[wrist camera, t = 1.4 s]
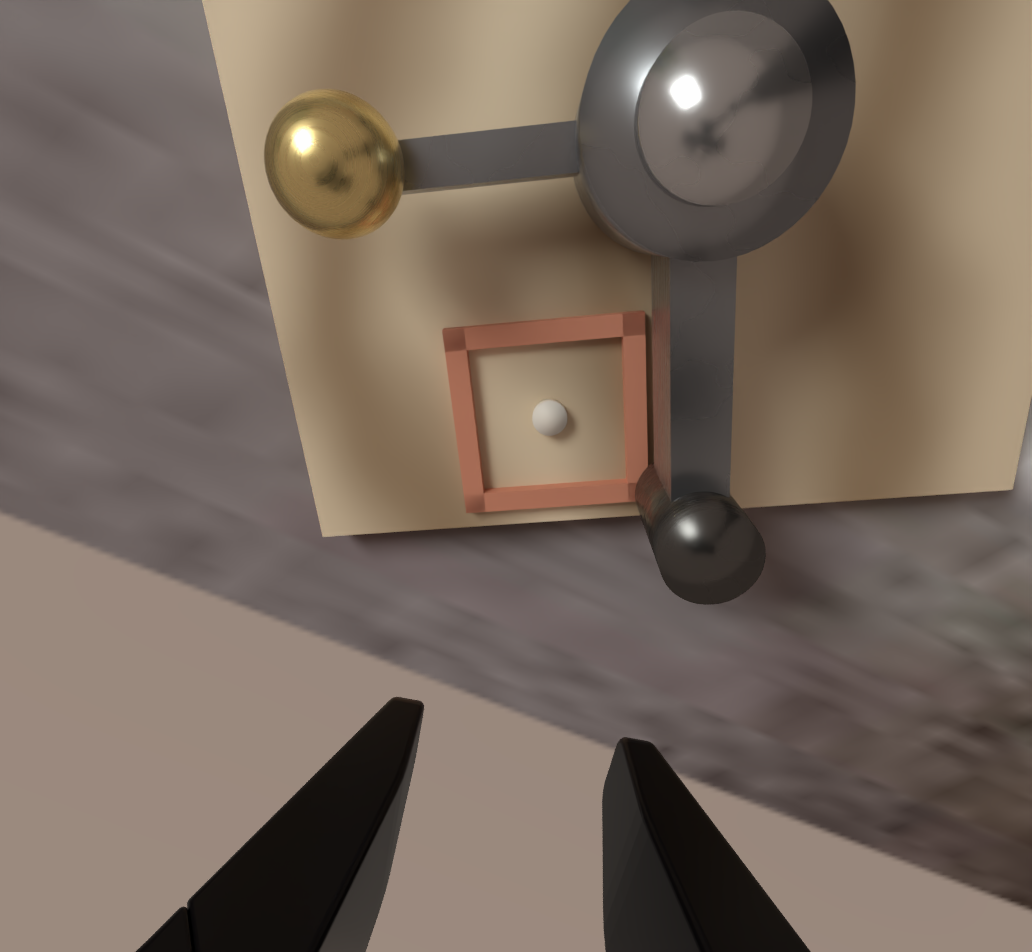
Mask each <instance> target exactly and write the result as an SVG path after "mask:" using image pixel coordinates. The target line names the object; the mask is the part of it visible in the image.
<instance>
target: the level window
mask: <svg viewBox="0 0 1032 952" xmlns="http://www.w3.org/2000/svg"><path fill="white" fill-rule="evenodd" d="M442 334H443V342H444V349H445V357H446V364H447V372H448V379H449V387H450V394H451V402H452V410H453V417H454V425H455V432H456V440H457V447H458V455H459V462H460V470H461V478H462V485H463V493H464V500H465V508H466V513H477V512H492V511H506V510H520V509H534V508H549V507H563V506H577V505H592V504H606V503H620V502H635V489H636V485H637V482H638V480H639V478H640V476H641V474H642V473H643V471H644V470H645V469H646V468H647V467H648V445H647V392H646V339H645V311H643V310H640V311H629V312H617V313H606V314H595V315H584V316H573V317H562V318H551V319H540V320H529V321H518V322H507V323H496V324H485V325H474V326H462V327H451V328H444V329H443V330H442ZM612 337H621V340H622V370H623V401H624V432H625V463H626V479H612V480H598V481H584V482H570V483H557V484H543V485H529V486H515V487H501V488H488V489H485V487H484V479H483V470H482V462H481V453H480V445H479V437H478V428H477V420H476V411H475V403H474V395H473V386H472V378H471V369H470V361H469V353H468V350H475V349H486V348H498V347H509V346H520V345H532V344H543V343H555V342H566V341H577V340H589V339H600V338H612ZM532 421H533V425H534V427H535V429H536V430H537V431H538V432H539V433H541V434H543V435H546V436H553V435H556V434H558V433H560V432H561V431H562V430H563V429H564V428H565V426H566V424H567V412H566V409H565V407H564V405H563V404H562V403H561V402H559V401H558V400H555V399H544V400H542V401H540V402H539V403H538V404H537V405H536V406H535V408H534V410H533V415H532Z"/></svg>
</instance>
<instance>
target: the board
mask: <svg viewBox="0 0 1032 952" xmlns="http://www.w3.org/2000/svg"><path fill="white" fill-rule="evenodd" d="M629 1H630V0H202V2H203V6H204V10H205V15H206V19H207V24H208V28H209V33H210V37H211V42H212V46H213V51H214V55H215V59H216V64H217V68H218V73H219V77H220V82H221V86H222V91H223V95H224V99H225V104H226V108H227V113H228V117H229V122H230V126H231V131H232V135H233V139H234V144H235V148H236V153H237V157H238V162H239V166H240V171H241V175H242V180H243V184H244V188H245V193H246V197H247V202H248V206H249V211H250V215H251V220H252V224H253V228H254V233H255V237H256V242H257V246H258V251H259V255H260V260H261V264H262V268H263V273H264V277H265V282H266V286H267V291H268V295H269V300H270V304H271V309H272V313H273V317H274V322H275V326H276V331H277V335H278V340H279V344H280V349H281V353H282V357H283V362H284V366H285V371H286V375H287V380H288V384H289V389H290V393H291V397H292V402H293V406H294V411H295V415H296V420H297V424H298V429H299V433H300V438H301V442H302V446H303V451H304V455H305V460H306V464H307V469H308V473H309V478H310V482H311V486H312V491H313V495H314V500H315V504H316V509H317V513H318V518H319V522H320V526H321V531H322V535H323V537H329V536H344V535H358V534H373V533H387V532H402V531H417V530H431V529H446V528H461V527H475V526H490V525H504V524H519V523H534V522H548V521H563V520H578V519H592V518H607V517H621V516H636V515H640V514H639V511H638V508H637V505H636V501H635V502H620V503H606V504H592V505H577V506H563V507H549V508H534V509H520V510H506V511H492V512H477V513H466V508H465V500H464V493H463V485H462V478H461V470H460V462H459V455H458V447H457V440H456V432H455V425H454V417H453V410H452V402H451V394H450V387H449V379H448V372H447V364H446V357H445V349H444V342H443V334H442V330H443V329H444V328H451V327H462V326H474V325H485V324H496V323H507V322H518V321H529V320H540V319H551V318H562V317H573V316H584V315H595V314H606V313H617V312H629V311H640V310H643V311H645V339H646V392H647V445H648V466H649V465H650V464H652V463H653V462H654V423H653V357H652V291H651V255H647V254H643V253H639V252H635V251H633V250H631V249H628V248H626V247H624V246H622V245H620V244H619V243H617V242H615V241H614V240H612V239H611V238H610V237H609V236H607V235H606V234H605V233H604V232H603V231H602V230H601V229H600V228H599V227H598V226H597V225H596V224H595V223H594V222H593V220H592V219H591V217H590V216H589V214H588V213H587V212H586V210H585V208H584V206H583V204H582V202H581V200H580V198H579V195H578V192H577V190H576V187H575V183H574V178H573V177H567V178H558V179H549V180H539V181H530V182H520V183H511V184H501V185H492V186H482V187H473V188H463V189H454V190H444V191H435V192H425V193H416V194H406V195H401V199H400V201H399V203H398V206H397V207H396V209H395V211H394V212H393V214H392V215H391V217H390V218H389V219H388V220H387V221H386V222H385V223H384V224H383V225H382V226H381V227H380V228H378V229H377V230H375V231H374V232H372V233H370V234H368V235H365V236H362V237H359V238H355V239H348V240H339V239H331V238H327V237H323V236H320V235H317V234H315V233H312V232H311V231H309V230H307V229H305V228H304V227H302V226H301V225H300V224H298V223H297V222H296V221H294V220H293V219H292V218H291V217H290V216H289V215H288V214H287V213H286V211H285V210H284V209H283V208H282V207H281V205H280V204H279V202H278V201H277V199H276V197H275V195H274V193H273V191H272V189H271V187H270V184H269V182H268V178H267V175H266V171H265V164H264V146H265V140H266V135H267V132H268V129H269V126H270V124H271V122H272V120H273V118H274V117H275V115H276V114H277V112H278V111H279V110H280V109H281V108H282V107H283V106H284V105H285V104H286V103H287V102H288V101H290V100H291V99H292V98H294V97H296V96H298V95H299V94H301V93H304V92H307V91H310V90H315V89H336V90H341V91H345V92H348V93H351V94H353V95H355V96H357V97H359V98H361V99H363V100H365V101H366V102H368V103H369V104H370V105H372V106H373V107H374V108H375V109H376V110H377V111H378V112H379V113H380V114H381V115H382V116H383V117H384V118H385V120H386V121H387V122H388V124H389V125H390V126H391V128H392V130H393V131H394V133H395V135H396V137H397V139H398V140H403V139H412V138H421V137H430V136H439V135H448V134H457V133H466V132H475V131H484V130H493V129H502V128H511V127H520V126H529V125H538V124H547V123H556V122H565V121H574V120H575V117H576V113H577V109H578V106H579V102H580V99H581V95H582V92H583V88H584V85H585V81H586V78H587V74H588V71H589V69H590V66H591V63H592V61H593V58H594V55H595V53H596V51H597V49H598V47H599V45H600V43H601V41H602V39H603V37H604V35H605V33H606V32H607V30H608V28H609V27H610V25H611V24H612V22H613V21H614V19H615V18H616V16H617V15H618V14H619V13H620V12H621V10H622V9H623V8H624V7H625V6H626V4H627V3H628V2H629ZM828 1H829V2H830V3H831V5H832V6H833V8H834V9H835V11H836V13H837V15H838V17H839V19H840V20H841V22H842V24H843V27H844V30H845V32H846V35H847V38H848V40H849V43H850V48H851V52H852V57H853V61H854V69H855V80H856V93H855V108H854V115H853V122H852V127H851V131H850V134H849V138H848V142H847V145H846V148H845V150H844V153H843V156H842V158H841V161H840V163H839V165H838V167H837V169H836V171H835V173H834V175H833V177H832V179H831V181H830V182H829V184H828V185H827V187H826V188H825V190H824V191H823V193H822V194H821V196H820V197H819V199H818V200H817V201H816V202H815V203H814V205H813V206H812V207H811V208H810V209H809V211H808V212H807V213H806V214H805V215H804V216H803V217H802V218H801V219H800V220H799V221H798V222H797V223H795V224H794V225H793V226H792V227H791V228H790V229H788V230H787V231H786V232H784V233H783V234H782V235H780V236H779V237H778V238H776V239H774V240H773V241H771V242H769V243H768V244H766V245H764V246H762V247H760V248H758V249H756V250H753V251H751V252H749V253H747V254H743V255H740V256H737V277H736V309H735V341H734V373H733V406H732V438H731V470H730V494H731V495H732V497H733V498H734V499H735V501H736V502H737V503H738V505H739V506H740V507H741V508H753V507H768V506H782V505H797V504H812V503H826V502H841V501H855V500H870V499H885V498H899V497H914V496H928V495H943V494H958V493H972V492H987V491H1002V490H1013V485H1014V480H1015V476H1016V471H1017V466H1018V461H1019V456H1020V451H1021V446H1022V441H1023V436H1024V431H1025V427H1026V422H1027V417H1028V412H1029V407H1030V402H1031V397H1032V0H828ZM468 353H469V361H470V369H471V378H472V386H473V395H474V403H475V411H476V420H477V428H478V437H479V445H480V453H481V462H482V470H483V479H484V487H485V489H488V488H501V487H515V486H529V485H543V484H557V483H570V482H584V481H598V480H612V479H626V463H625V432H624V401H623V370H622V340H621V337H612V338H600V339H589V340H577V341H566V342H555V343H543V344H532V345H520V346H509V347H498V348H486V349H475V350H468ZM544 399H555V400H558V401H559V402H561V403H562V404H563V405H564V407H565V409H566V412H567V424H566V426H565V428H564V429H563V430H562V431H561V432H560V433H558V434H556V435H553V436H546V435H543V434H541V433H539V432H538V431H537V430H536V429H535V427H534V425H533V421H532V415H533V410H534V408H535V406H536V405H537V404H538V403H539V402H540V401H542V400H544Z"/></svg>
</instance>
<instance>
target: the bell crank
mask: <svg viewBox="0 0 1032 952" xmlns="http://www.w3.org/2000/svg"><path fill="white" fill-rule="evenodd" d="M855 93H856V80H855V69H854V61H853V57H852V52H851V48H850V43H849V40H848V38H847V35H846V32H845V30H844V27H843V24H842V22H841V20H840V19H839V17H838V15H837V13H836V11H835V9H834V8H833V6H832V5H831V3H830V2H829V1H828V0H630V1H629V2H628V3H627V4H626V6H625V7H624V8H623V9H622V10H621V12H620V13H619V14H618V15H617V16H616V18H615V19H614V21H613V22H612V24H611V25H610V27H609V28H608V30H607V32H606V33H605V35H604V37H603V39H602V41H601V43H600V45H599V47H598V49H597V51H596V53H595V55H594V58H593V61H592V63H591V66H590V69H589V71H588V74H587V78H586V81H585V85H584V88H583V92H582V95H581V99H580V102H579V106H578V109H577V113H576V117H575V120H574V121H565V122H556V123H547V124H538V125H529V126H520V127H511V128H502V129H493V130H484V131H475V132H466V133H457V134H448V135H439V136H430V137H421V138H412V139H403V140H398V139H397V137H396V135H395V133H394V131H393V130H392V128H391V126H390V125H389V124H388V122H387V121H386V120H385V118H384V117H383V116H382V115H381V114H380V113H379V112H378V111H377V110H376V109H375V108H374V107H373V106H372V105H370V104H369V103H368V102H366V101H365V100H363V99H361V98H359V97H357V96H355V95H353V94H351V93H348V92H345V91H341V90H336V89H315V90H310V91H307V92H304V93H301V94H299V95H298V96H296V97H294V98H292V99H291V100H290V101H288V102H287V103H286V104H285V105H284V106H283V107H282V108H281V109H280V110H279V111H278V112H277V114H276V115H275V117H274V118H273V120H272V122H271V124H270V126H269V129H268V132H267V135H266V140H265V146H264V164H265V171H266V175H267V178H268V182H269V184H270V187H271V189H272V191H273V193H274V195H275V197H276V199H277V201H278V202H279V204H280V205H281V207H282V208H283V209H284V210H285V211H286V213H287V214H288V215H289V216H290V217H291V218H292V219H293V220H294V221H296V222H297V223H298V224H300V225H301V226H302V227H304V228H305V229H307V230H309V231H311V232H312V233H315V234H317V235H320V236H323V237H327V238H331V239H339V240H348V239H355V238H359V237H362V236H365V235H368V234H370V233H372V232H374V231H375V230H377V229H378V228H380V227H381V226H382V225H383V224H384V223H385V222H386V221H387V220H388V219H389V218H390V217H391V215H392V214H393V212H394V211H395V209H396V207H397V206H398V203H399V201H400V199H401V195H406V194H416V193H425V192H435V191H444V190H454V189H463V188H473V187H482V186H492V185H501V184H511V183H520V182H530V181H539V180H549V179H558V178H567V177H573V178H574V183H575V187H576V190H577V192H578V195H579V198H580V200H581V202H582V204H583V206H584V208H585V210H586V212H587V213H588V214H589V216H590V217H591V219H592V220H593V222H594V223H595V224H596V225H597V226H598V227H599V228H600V229H601V230H602V231H603V232H604V233H605V234H606V235H607V236H609V237H610V238H611V239H612V240H614V241H615V242H617V243H619V244H620V245H622V246H624V247H626V248H628V249H631V250H633V251H635V252H639V253H643V254H647V255H651V291H652V357H653V423H654V462H653V463H652V464H650V465H649V466H648V467H647V468H646V469H645V470H644V471H643V473H642V474H641V476H640V478H639V480H638V482H637V485H636V489H635V501H636V505H637V508H638V511H639V514H640V516H641V519H642V522H643V525H644V528H645V530H646V533H647V536H648V539H649V542H650V544H651V547H652V550H653V553H654V555H655V558H656V561H657V564H658V567H659V569H660V572H661V575H662V577H663V580H664V582H665V583H666V585H667V586H668V587H669V589H670V590H671V591H672V592H674V593H675V594H676V595H677V596H679V597H680V598H682V599H684V600H687V601H689V602H693V603H697V604H719V603H723V602H727V601H730V600H732V599H734V598H736V597H738V596H740V595H741V594H743V593H744V592H746V591H747V590H748V589H749V588H750V587H751V586H752V585H753V584H754V583H755V582H756V580H757V579H758V577H759V576H760V574H761V572H762V570H763V567H764V563H765V557H766V553H765V545H764V542H763V539H762V537H761V535H760V533H759V532H758V530H757V529H756V528H755V526H754V525H753V524H752V522H751V521H750V520H749V518H748V517H747V515H746V514H745V513H744V511H743V510H742V509H741V507H740V506H739V505H738V503H737V502H736V501H735V499H734V498H733V497H732V495H731V494H730V470H731V438H732V406H733V373H734V341H735V309H736V277H737V256H740V255H743V254H747V253H749V252H751V251H753V250H756V249H758V248H760V247H762V246H764V245H766V244H768V243H769V242H771V241H773V240H774V239H776V238H778V237H779V236H780V235H782V234H783V233H784V232H786V231H787V230H788V229H790V228H791V227H792V226H793V225H794V224H795V223H797V222H798V221H799V220H800V219H801V218H802V217H803V216H804V215H805V214H806V213H807V212H808V211H809V209H810V208H811V207H812V206H813V205H814V203H815V202H816V201H817V200H818V199H819V197H820V196H821V194H822V193H823V191H824V190H825V188H826V187H827V185H828V184H829V182H830V181H831V179H832V177H833V175H834V173H835V171H836V169H837V167H838V165H839V163H840V161H841V158H842V156H843V153H844V150H845V148H846V145H847V142H848V138H849V134H850V131H851V127H852V122H853V115H854V108H855Z"/></svg>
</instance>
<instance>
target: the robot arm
mask: <svg viewBox="0 0 1032 952" xmlns="http://www.w3.org/2000/svg"><path fill="white" fill-rule="evenodd" d="M423 711H424V705H423V703H422V702H421V701H418V700H412V699H407V698H401V697H394V698H392V699H391V700H390V701H388V702H387V703H386V705H384V706H383V707H382V708H381V709H380V710H379V711H378V712H377V713H376V714H375V715H374V716H373V717H372V718H371V719H370V720H369V721H368V722H367V723H366V724H365V725H364V726H363V727H362V728H361V729H360V730H359V731H358V732H357V733H356V734H355V735H354V736H353V737H352V738H351V739H350V740H349V741H348V742H347V743H346V744H345V745H344V746H343V747H342V748H341V749H340V750H339V751H338V752H337V753H336V754H335V755H334V756H333V757H332V758H331V759H330V760H329V761H328V762H327V763H326V764H325V765H324V766H323V767H322V768H321V769H320V770H319V771H318V772H317V773H316V774H315V775H314V776H313V777H312V778H311V779H310V780H309V781H308V782H307V783H306V784H305V785H304V786H303V787H302V788H301V789H300V790H299V791H298V792H297V793H296V794H295V795H294V796H293V797H292V798H291V799H290V800H289V801H288V802H287V803H286V804H285V805H284V806H283V807H282V808H281V809H280V810H279V811H278V812H277V813H276V814H275V815H274V816H273V817H272V818H271V819H270V820H269V821H268V822H267V823H266V824H265V825H264V826H263V827H262V828H260V829H259V831H257V833H255V834H254V836H252V837H251V838H250V839H249V841H247V842H246V843H245V844H244V845H243V846H242V847H241V848H240V850H238V851H237V852H236V853H235V854H234V855H233V856H232V857H231V858H230V859H229V860H228V861H227V862H226V863H225V864H224V865H223V866H222V868H220V869H219V870H218V871H217V872H216V873H215V874H214V875H213V876H212V877H211V878H210V879H209V880H208V881H207V882H206V883H205V884H204V885H203V886H202V887H201V888H200V889H199V890H198V891H197V892H196V893H195V894H194V895H193V896H192V897H191V898H190V899H189V900H188V902H187V908H186V907H181V908H179V909H178V910H177V911H176V912H175V913H174V914H173V915H172V916H171V917H170V919H168V920H167V921H166V922H165V923H164V924H163V926H161V927H160V928H159V929H158V930H157V931H156V932H155V934H153V935H152V936H151V937H150V938H149V939H148V940H147V941H146V942H145V943H144V944H143V945H142V946H141V947H140V948H139V949H138V950H137V951H136V952H366V949H367V946H368V943H369V940H370V937H371V934H372V931H373V928H374V925H375V922H376V919H377V916H378V913H379V910H380V907H381V904H382V901H383V897H384V894H385V891H386V887H387V883H388V879H389V875H390V871H391V867H392V862H393V857H394V853H395V849H396V844H397V839H398V835H399V831H400V826H401V822H402V817H403V812H404V808H405V803H406V799H407V795H408V790H409V786H410V781H411V777H412V772H413V768H414V763H415V758H416V753H417V747H418V741H419V735H420V729H421V723H422V718H423ZM602 808H603V809H602V815H603V817H602V821H603V918H604V919H603V920H604V938H605V950H606V952H810V950H809V949H808V948H807V946H806V945H805V944H804V942H803V941H802V940H801V938H800V937H799V936H798V934H797V933H796V932H795V931H794V929H793V928H792V927H791V925H790V924H789V923H788V921H787V920H786V919H785V917H784V916H783V915H782V913H781V912H780V911H779V909H778V908H777V907H776V905H775V904H774V903H773V901H772V900H771V899H770V897H769V896H768V895H767V894H766V892H765V891H764V890H763V888H762V887H761V886H760V885H759V883H758V882H757V880H756V879H755V878H754V876H753V875H752V874H751V872H750V871H749V870H748V868H747V867H746V866H745V864H744V863H743V862H742V860H741V859H740V858H739V856H738V855H737V854H736V852H735V851H734V850H733V849H732V847H731V846H730V845H729V843H728V842H727V841H726V839H725V838H724V837H723V835H722V834H721V833H720V831H719V830H718V829H717V827H716V826H715V825H714V824H713V822H712V821H711V819H710V818H709V817H708V815H707V814H706V813H705V812H704V810H703V809H702V808H701V806H700V805H699V804H698V802H697V801H696V800H695V798H694V797H693V796H692V794H691V793H690V792H689V790H688V789H687V788H686V787H685V785H684V784H683V782H682V781H681V780H680V778H679V777H678V776H677V774H676V773H675V772H674V771H673V769H672V768H671V767H670V765H669V764H668V763H667V761H666V760H665V759H664V757H663V756H662V755H661V753H660V752H659V751H658V749H657V748H656V747H655V746H654V745H653V744H652V743H651V742H648V741H644V740H638V739H633V738H627V737H624V738H622V739H620V740H619V742H618V743H617V746H616V749H615V752H614V755H613V758H612V761H611V765H610V768H609V771H608V774H607V777H606V780H605V784H604V789H603V799H602Z"/></svg>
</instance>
